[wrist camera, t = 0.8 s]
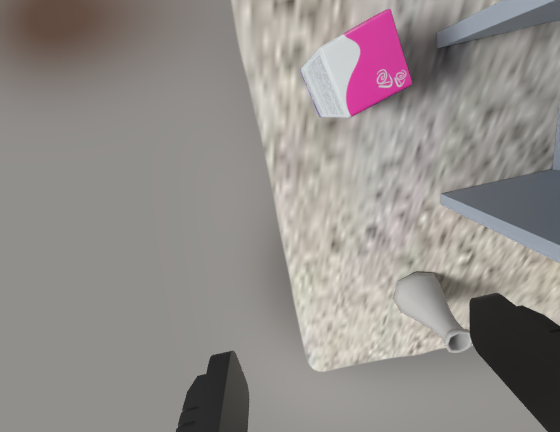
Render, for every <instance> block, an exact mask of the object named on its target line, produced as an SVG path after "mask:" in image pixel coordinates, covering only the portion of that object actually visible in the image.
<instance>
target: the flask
mask: <svg viewBox="0 0 560 432" xmlns="http://www.w3.org/2000/svg"><path fill="white" fill-rule="evenodd" d="M393 299H394V301H395V303H396V304H397V306H398V308H399V310H400V311H401V312H402V313H404V314H405V315H407V316H409V317H411V318H413V319H415V320H416V321H418V322H420V323H422V324H423V325H425V326H426V327H428V328H430V329H431V330H433V331H434V332H435V333H436V334H437V335H438V336H440V337H441V338H442V340H443V341H444V344H445V346H446V347H447V349H448V351H449V352H450V353H461V352H463V351H465V350H467V349H469V348H470V347H471V345H472V341H471V338H470V331H469V330H467V329H463V328H462V327H461V326H460V325H459V323H458V322H457V321H456V320H455V318H454V316H453V315H452V313H451V311H450V309H449V306H448V304H447V301H446V298H445V295H444V292H443V290H442V287H441V285H440V283H439V281H438V279H437V277H436V275H435V273H422V272H415V273H413V274H411V275H409V276H407V277H405V278H403V279H401V280H399V281H398V282H397V285H396V289H395V293H394V296H393Z"/></svg>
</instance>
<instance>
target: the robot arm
mask: <svg viewBox="0 0 560 432" xmlns="http://www.w3.org/2000/svg"><path fill="white" fill-rule="evenodd" d="M470 338H471V341H472V343H473V346H474V347H475V349H476V351H477V352H478V354H479V355H480V356H481V357H482V358H483V359H484V360H485V362H487V364H488V365H489V366H490V367H491V368H492V369H493V371H494V372H495V373H496V374H497V375H498V376H499V377H500V378H501V379H502V381H503V382H504V383H505V384H506V385H507V386H508V387H509V389H510V390H511V391H512V392H513V393H514V394H515V395H516V396H517V398H519V400H520V401H521V402H522V403H523V404H524V405H525V407H526V408H527V409H528V410H529V411H530V412H531V413H532V414H533V416H534V417H535V418H536V419H537V420H538V421H539V422H540V423H541V424H542V426H543V427H544V428H545V429H546V430H547V431H548V432H560V326H559V325H557V324H556V323H554V322H553V321H552V320H550V319H549V318H548V317H546V316H545V315H543V314H540V313H538V312H536V311H534V310H531V309H529V308H527V307H524V306H515V305H514V304H513V303H511V302H510V301H509V300H507V299H506V298H505V297H504V296H502V295H500V294H498V293H494V294H489V295H485V296H480V297H476V298H472V299H471V300H470ZM182 410H183V412H182V413H181V416H180V419H179V423H178V428H177V429H176V432H247V430H248V414H249V413H248V412H249V391H248V385H247V382H246V379H245V376H244V374H243V371H242V369H241V366H240V363H239V361H238V358H237V356H236V353H235V352H234V351H229V352H225V353H220V354H216V355H212V356H211V357H210V361H209V364H208V369H207V373H206V374H204V375H200V376H197V378H196V379H195V381H194V382H193V384H192V386H191V387H190V389H189V390H188V392H187V395H186V398H185V402H184V405H183V409H182Z"/></svg>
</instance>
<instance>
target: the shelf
mask: <svg viewBox="0 0 560 432" xmlns="http://www.w3.org/2000/svg"><path fill="white" fill-rule="evenodd" d="M556 20H560V0H502V1H500V2H498V3H496V4H494V5H492V6H490V7H488V8H486V9H484V10H482V11H480V12H478V13H476V14H474V15H472V16H470V17H468V18H466V19H464V20H462V21H460V22H458V23H456V24H454V25H452V26H450V27H448V28H446V29H444V30H442V31H440V32H438V33H437V49H438V48H442V47H446V46H451V45H455V44H459V43H463V42H467V41H472V40H476V39H480V38H484V37H488V36H493V35H497V34H501V33H505V32H510V31H514V30H518V29H522V28H526V27H531V26H535V25H539V24H543V23H547V22H552V21H556ZM441 205H443V206H445V207H447V208H449V209H451V210H453V211H455V212H457V213H459V214H461V215H463V216H465V217H467V218H469V219H471V220H473V221H475V222H477V223H479V224H481V225H484V226H486V227H488V228H490V229H492V230H494V231H496V232H498V233H500V234H502V235H504V236H506V237H508V238H510V239H512V240H514V241H516V242H518V243H520V244H522V245H524V246H526V247H528V248H530V249H532V250H534V251H536V252H538V253H540V254H542V255H544V256H546V257H548V258H550V259H552V260H554V261H556V262H558V263H560V103H559V112H558V121H557V130H556V140H555V149H554V158H553V167H552V169H551V170H546V171H542V172H537V173H533V174H528V175H524V176H519V177H515V178H510V179H506V180H501V181H497V182H492V183H488V184H483V185H478V186H474V187H469V188H465V189H460V190H456V191H451V192H447V193H442V194H441Z"/></svg>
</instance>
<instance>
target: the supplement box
mask: <svg viewBox="0 0 560 432" xmlns="http://www.w3.org/2000/svg"><path fill="white" fill-rule="evenodd" d="M300 71H301V74H302V76H303V78H304V81H305V83H306V85H307V88H308V90H309V93H310V95H311V97H312V100H313V102H314V104H315V107H316V109H317V111H318V114H319V116H320V117H338V118H350V117H352V116H354V115H356V114H358V113H360V112H362V111H363V110H365V109H367V108H369V107H371V106H373V105H375V104H377V103H379V102H380V101H382V100H384V99H386V98H388V97H390V96H392V95H394V94H395V93H397V92H399V91H401V90H403V89H405V88H407V87H409V86H411V85H412V80H411V76H410V73H409V70H408V67H407V64H406V61H405V58H404V54H403V51H402V48H401V44H400V41H399V37H398V34H397V30H396V27H395V23H394V19H393V16H392V12H391V9H387V10H385V11H383V12H381V13H379V14H377V15H375V16H373V17H372V18H370V19H368V20H366V21H364V22H363V23H361V24H359V25H357V26H356V27H354V28H352V29H350V30H349V31H347V32H345V33H344V34H342V35H340V36H338V37H337V38H335V39H333V40H331V41H330V42H328V43H326V44H325V45H323V46H321V47H320V48H319V49H318V50H317V51H316V53H315V54H314V55H313V56H312V57H311V58H310V59H309V61H308V62H307V63H306V64H305V65H304V66H303V67H302V68H301V69H300Z"/></svg>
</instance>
